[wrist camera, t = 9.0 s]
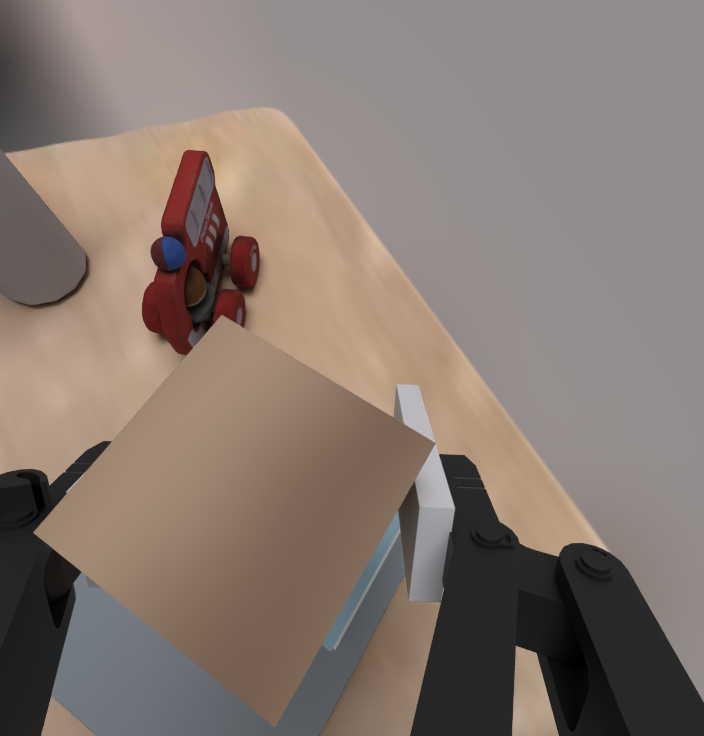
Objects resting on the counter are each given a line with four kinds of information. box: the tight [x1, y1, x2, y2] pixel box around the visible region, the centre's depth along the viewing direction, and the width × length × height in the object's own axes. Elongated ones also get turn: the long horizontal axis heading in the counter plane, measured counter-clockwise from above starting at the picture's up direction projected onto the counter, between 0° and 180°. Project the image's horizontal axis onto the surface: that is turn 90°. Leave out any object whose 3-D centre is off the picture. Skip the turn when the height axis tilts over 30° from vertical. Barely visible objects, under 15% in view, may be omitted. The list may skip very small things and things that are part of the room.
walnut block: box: [33, 315, 436, 727], centre depth 13 cm, size 5×5×10 cm
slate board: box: [51, 528, 405, 736], centre depth 29 cm, size 18×20×1 cm
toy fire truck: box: [142, 150, 259, 355], centre depth 33 cm, size 7×12×10 cm, turn 173°
